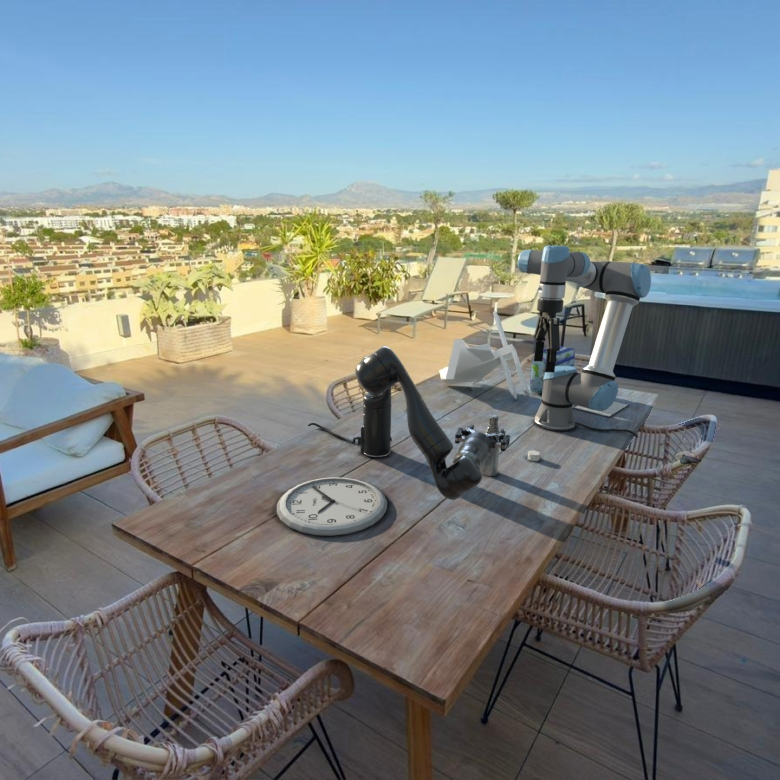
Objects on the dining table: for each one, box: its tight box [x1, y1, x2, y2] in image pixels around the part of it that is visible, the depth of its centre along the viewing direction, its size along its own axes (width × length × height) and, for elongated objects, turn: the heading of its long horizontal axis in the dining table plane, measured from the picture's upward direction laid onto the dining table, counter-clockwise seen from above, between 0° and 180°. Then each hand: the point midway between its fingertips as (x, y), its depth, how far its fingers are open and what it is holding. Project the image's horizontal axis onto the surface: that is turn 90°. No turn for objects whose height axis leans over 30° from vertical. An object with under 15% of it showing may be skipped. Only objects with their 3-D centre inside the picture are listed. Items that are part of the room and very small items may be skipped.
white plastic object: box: [438, 310, 531, 400], centre depth 245 cm, size 37×45×31 cm
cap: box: [527, 449, 541, 462], centre depth 174 cm, size 4×4×2 cm
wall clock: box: [276, 476, 388, 537], centre depth 142 cm, size 30×2×30 cm
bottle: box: [482, 414, 501, 477], centre depth 161 cm, size 5×5×19 cm
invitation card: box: [573, 401, 629, 418], centre depth 226 cm, size 21×1×15 cm
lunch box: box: [529, 345, 576, 394], centre depth 244 cm, size 26×11×21 cm, turn 135°
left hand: (487, 429), depth 149 cm, fingers open, 8 cm apart
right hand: (543, 366), depth 164 cm, fingers open, 13 cm apart
